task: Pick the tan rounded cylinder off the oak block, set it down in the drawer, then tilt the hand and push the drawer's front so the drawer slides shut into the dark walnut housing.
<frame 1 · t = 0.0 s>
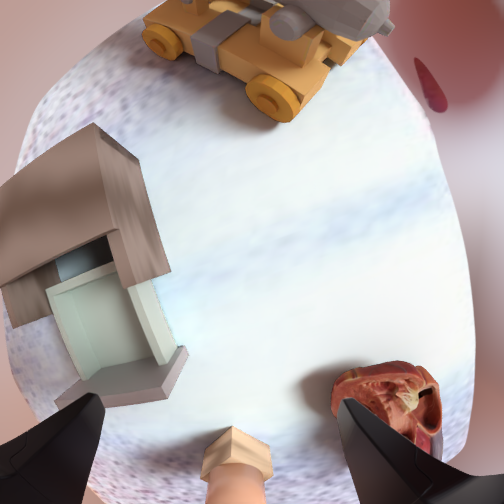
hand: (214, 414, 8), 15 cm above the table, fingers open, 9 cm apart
block: (236, 448, 24), on the table
housing: (109, 293, 23), on the table
anatomical model: (372, 404, 25), on the table
toy cannon: (260, 43, 23), on the table
tan rounded cylinder: (236, 478, 19), point 5 cm above the table, touching block
drawer: (99, 332, 19), point 4 cm above the table, slide at 7.0 cm
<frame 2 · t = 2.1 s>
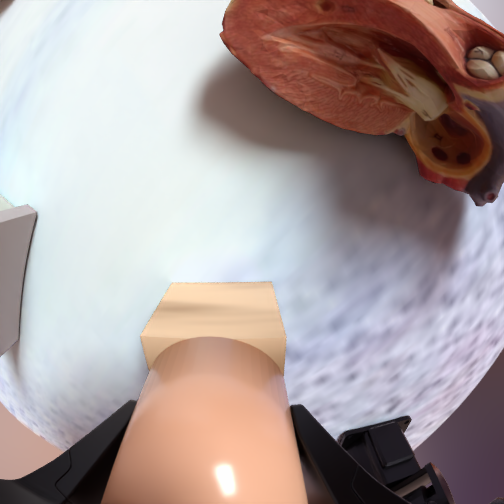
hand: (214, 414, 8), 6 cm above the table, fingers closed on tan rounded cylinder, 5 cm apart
block: (223, 325, 14), on the table
anatomical model: (386, 93, 11), on the table
tan rounded cylinder: (216, 391, 9), point 5 cm above the table, touching block, gripper
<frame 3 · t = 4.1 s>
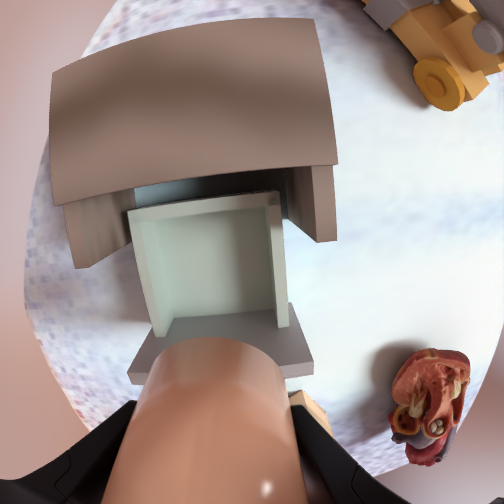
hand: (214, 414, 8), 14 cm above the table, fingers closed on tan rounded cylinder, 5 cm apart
block: (294, 412, 25), on the table
housing: (211, 227, 20), on the table
anatomical model: (411, 385, 26), on the table
toy cannon: (416, 19, 16), on the table
tan rounded cylinder: (216, 391, 9), point 12 cm above the table, touching gripper
drawer: (210, 281, 17), point 4 cm above the table, slide at 7.0 cm
when the fingers open (4 cm above the table, at t = 6.4 s): tan rounded cylinder drops 2 cm, resting on drawer.
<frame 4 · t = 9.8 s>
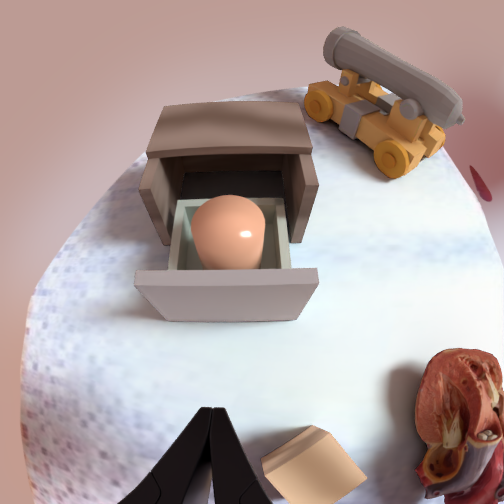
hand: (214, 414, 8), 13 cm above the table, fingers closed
block: (303, 463, 17), on the table
housing: (231, 243, 26), on the table
anatomical model: (437, 432, 17), on the table
toy cannon: (377, 134, 37), on the table
tan rounded cylinder: (231, 262, 24), point 1 cm above the table, touching drawer
drawer: (228, 245, 21), point 4 cm above the table, slide at 7.0 cm, touching tan rounded cylinder
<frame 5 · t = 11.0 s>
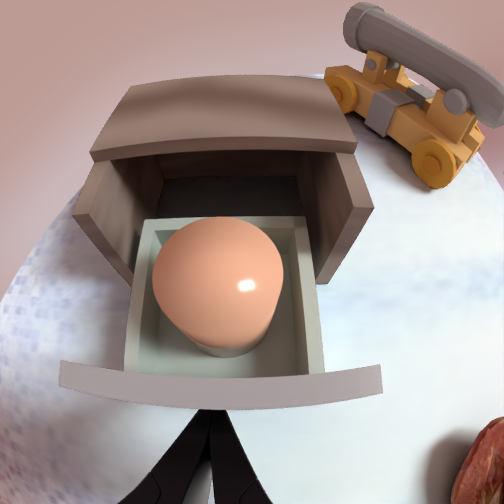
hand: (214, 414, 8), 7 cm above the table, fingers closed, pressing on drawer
housing: (226, 286, 18), on the table
anatomical model: (469, 498, 8), on the table
toy cannon: (407, 131, 29), on the table
tan rounded cylinder: (226, 314, 16), point 1 cm above the table, touching drawer
drawer: (220, 299, 13), point 4 cm above the table, slide at 6.7 cm, touching gripper, tan rounded cylinder
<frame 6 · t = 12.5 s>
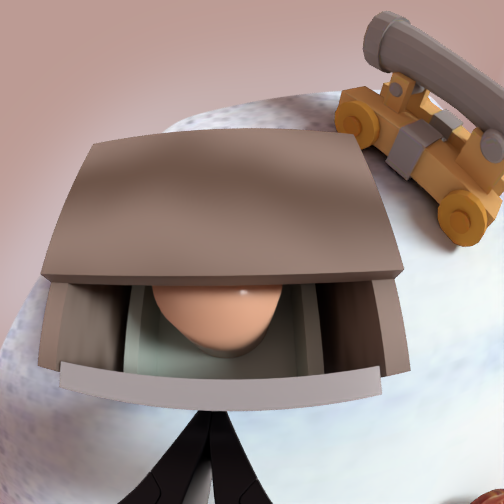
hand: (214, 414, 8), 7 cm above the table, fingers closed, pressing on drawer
housing: (226, 392, 14), on the table
toy cannon: (429, 167, 25), on the table
tan rounded cylinder: (226, 315, 16), point 1 cm above the table, touching drawer
drawer: (220, 299, 13), point 4 cm above the table, slide at -0.1 cm, touching gripper, tan rounded cylinder
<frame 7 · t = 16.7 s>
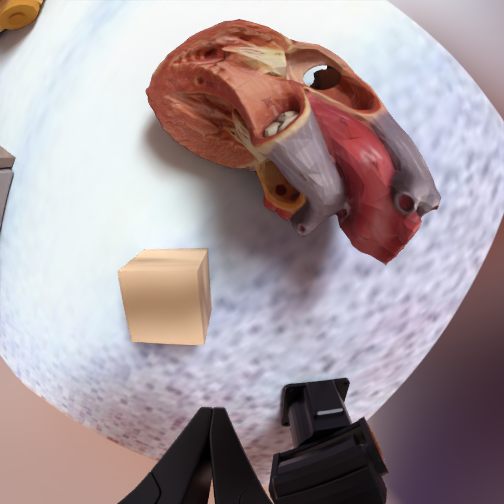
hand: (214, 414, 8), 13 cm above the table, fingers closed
block: (177, 280, 21), on the table
anatomical model: (268, 138, 18), on the table
toy cannon: (13, 5, 10), on the table
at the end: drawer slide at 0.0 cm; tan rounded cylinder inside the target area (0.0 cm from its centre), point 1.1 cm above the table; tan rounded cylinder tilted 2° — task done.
